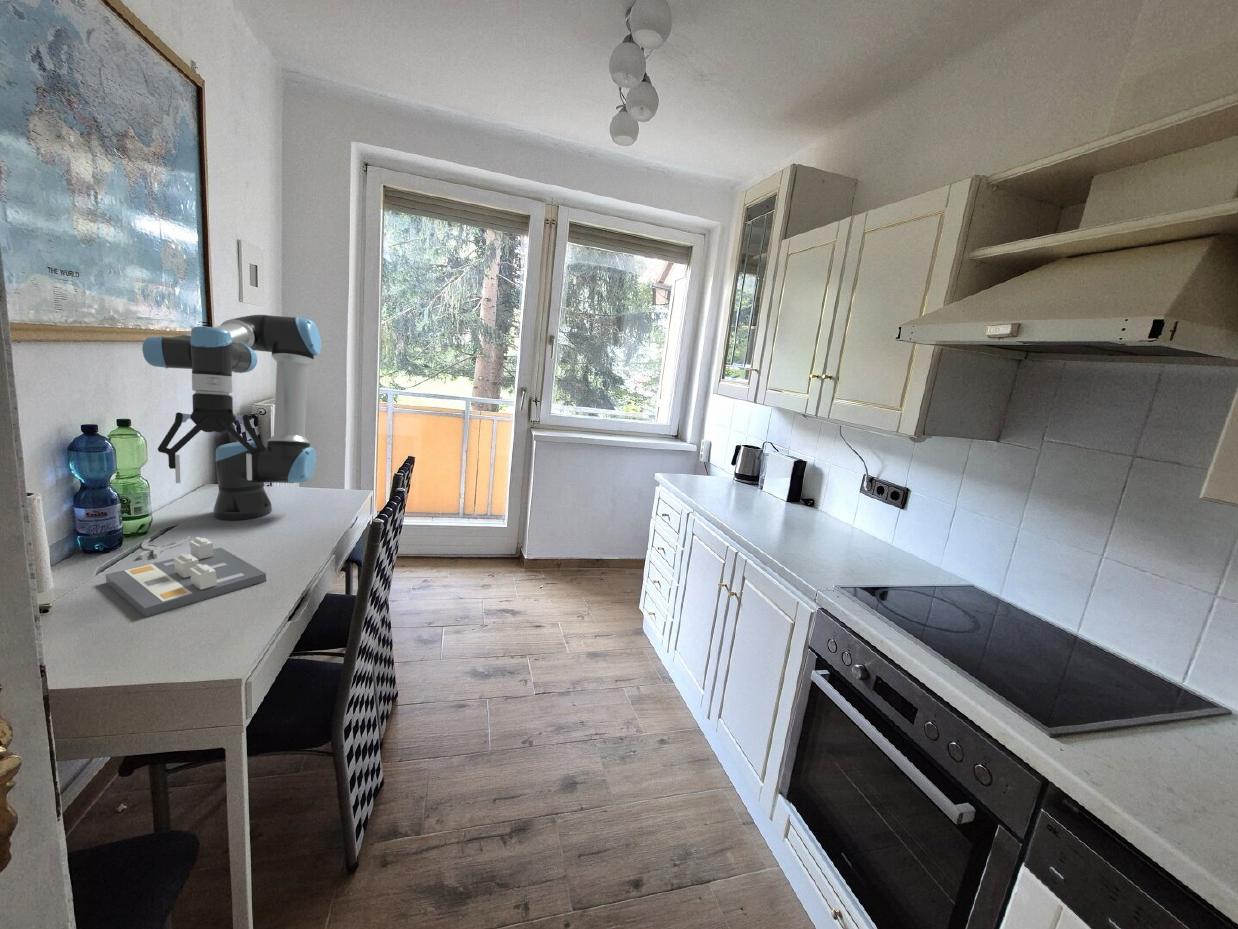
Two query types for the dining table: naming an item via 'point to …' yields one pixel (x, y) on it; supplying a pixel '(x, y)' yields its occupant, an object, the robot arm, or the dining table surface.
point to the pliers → (158, 548)
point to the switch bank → (181, 582)
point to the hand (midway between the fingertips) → (215, 481)
